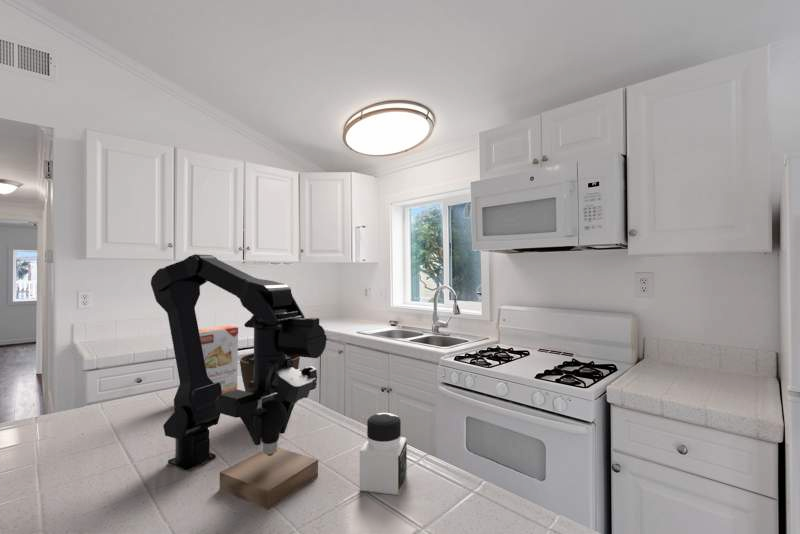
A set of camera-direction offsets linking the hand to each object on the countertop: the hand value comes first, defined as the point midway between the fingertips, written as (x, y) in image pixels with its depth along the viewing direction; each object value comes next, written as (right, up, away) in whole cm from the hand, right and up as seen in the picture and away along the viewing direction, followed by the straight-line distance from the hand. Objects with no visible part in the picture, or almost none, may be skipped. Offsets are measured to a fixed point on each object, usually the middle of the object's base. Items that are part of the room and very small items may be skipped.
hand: (269, 438), depth 72 cm
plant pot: (-10, -8, +31) cm, 33 cm away
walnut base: (0, -8, 0) cm, 8 cm away
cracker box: (-33, -8, +47) cm, 58 cm away
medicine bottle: (+21, -8, 0) cm, 22 cm away
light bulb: (0, -3, 0) cm, 3 cm away
